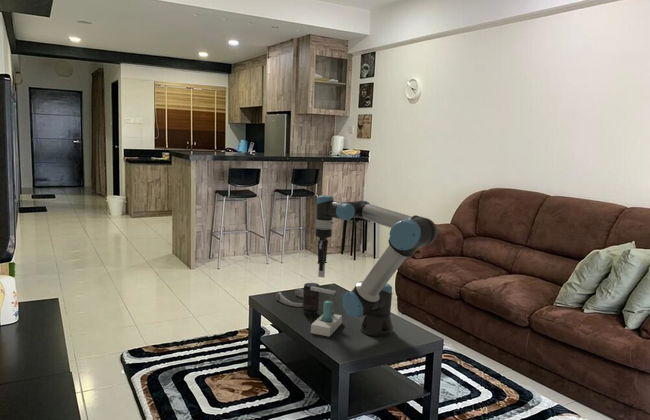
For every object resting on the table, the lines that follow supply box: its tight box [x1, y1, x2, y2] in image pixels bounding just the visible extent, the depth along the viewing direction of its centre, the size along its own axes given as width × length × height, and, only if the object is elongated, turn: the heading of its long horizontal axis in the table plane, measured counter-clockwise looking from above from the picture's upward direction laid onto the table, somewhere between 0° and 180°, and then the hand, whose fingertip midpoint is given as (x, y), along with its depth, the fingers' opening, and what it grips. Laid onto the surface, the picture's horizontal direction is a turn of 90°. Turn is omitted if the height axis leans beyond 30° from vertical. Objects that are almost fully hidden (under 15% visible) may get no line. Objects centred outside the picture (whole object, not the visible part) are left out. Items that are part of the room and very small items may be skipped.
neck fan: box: [276, 287, 304, 308], centre depth 269 cm, size 18×17×5 cm
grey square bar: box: [310, 286, 337, 296], centre depth 240 cm, size 2×13×2 cm, turn 64°
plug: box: [322, 300, 333, 323], centre depth 232 cm, size 5×5×11 cm
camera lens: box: [302, 282, 321, 317], centre depth 251 cm, size 8×8×15 cm
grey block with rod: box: [310, 294, 343, 337], centre depth 232 cm, size 9×18×14 cm, turn 161°
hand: (321, 276), depth 238 cm, fingers closed
